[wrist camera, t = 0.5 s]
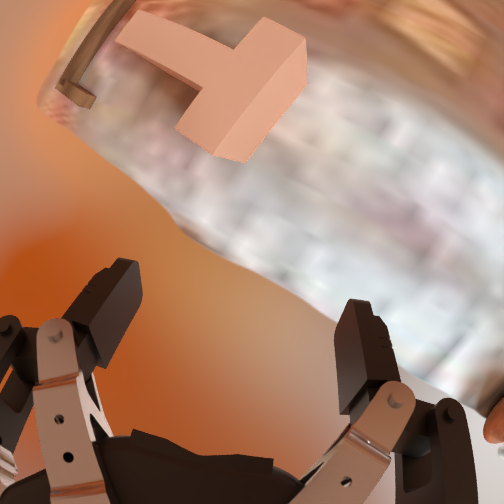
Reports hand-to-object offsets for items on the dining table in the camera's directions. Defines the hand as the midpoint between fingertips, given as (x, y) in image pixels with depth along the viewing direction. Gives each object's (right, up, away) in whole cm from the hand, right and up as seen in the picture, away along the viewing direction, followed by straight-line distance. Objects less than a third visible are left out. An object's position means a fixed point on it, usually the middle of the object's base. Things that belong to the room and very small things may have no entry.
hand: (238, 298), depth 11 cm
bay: (-19, +34, +20) cm, 44 cm away
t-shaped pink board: (-3, +21, +20) cm, 29 cm away
